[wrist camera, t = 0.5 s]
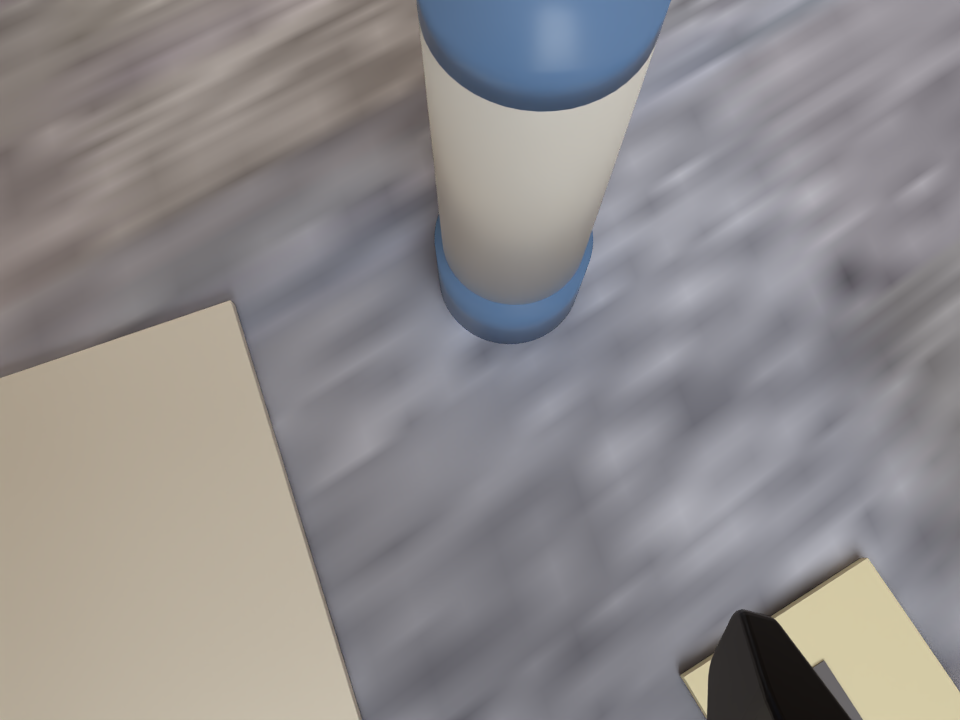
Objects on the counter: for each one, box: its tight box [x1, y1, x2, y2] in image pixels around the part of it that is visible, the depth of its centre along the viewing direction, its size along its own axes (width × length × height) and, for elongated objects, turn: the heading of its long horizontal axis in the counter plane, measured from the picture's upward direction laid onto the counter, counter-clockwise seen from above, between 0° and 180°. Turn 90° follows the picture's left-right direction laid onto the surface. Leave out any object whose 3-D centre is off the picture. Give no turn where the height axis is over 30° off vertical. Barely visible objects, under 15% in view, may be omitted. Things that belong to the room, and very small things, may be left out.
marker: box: [417, 0, 671, 344], centre depth 18 cm, size 4×4×13 cm
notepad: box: [0, 300, 362, 720], centre depth 21 cm, size 16×16×1 cm
